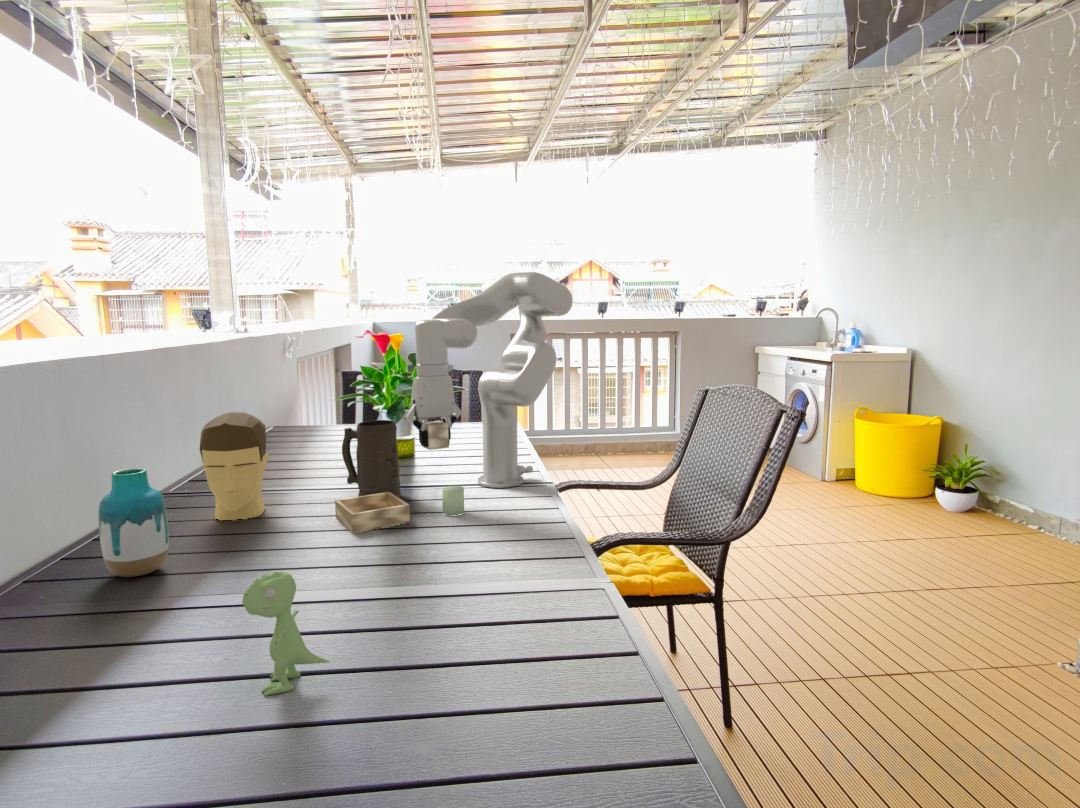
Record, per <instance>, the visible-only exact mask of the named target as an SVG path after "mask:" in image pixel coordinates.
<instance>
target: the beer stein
mask: <svg viewBox="0 0 1080 808" xmlns="http://www.w3.org/2000/svg"><path fill="white" fill-rule="evenodd" d="M396 423H397V422H396V421H394V420H390V419H381V420H380V419H377V420H367V421H362V422H359V423H357V426H356V430H354V429H352V427H347V428H344V437H343V441H342V447H341V454H342V455H341V456H342V458H343V462H344V465H345V467H346V469H347V471H348V472H347V473H348V476H347V478H346V483H347V484H348V485H351V484H357V487H358V489H359V490H358V495H357V497H359V496H366V495H372V494H378V493H385V492H390V493H392V494H394V495H395V496H397V497H398V498H401V495H402V492H401V489H400V486H401V480H400V465H399V450H398V443H397V433H398V432H397V431H398V428H397V424H396ZM354 439H355V440H357V441H356V442H357V446H356V451H355V452H356V468H355V466H354V461H353V458H352V455H351V454H352V453H351V442H352V440H354Z"/></svg>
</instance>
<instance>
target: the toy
mask: <svg viewBox="0 0 1080 808" xmlns="http://www.w3.org/2000/svg"><path fill="white" fill-rule="evenodd" d="M296 584H297V583H296V580H295V579H294V578H293V575H292V574H291V573H288V572H285V571H275V572H272V573H265V574H264V575H262V576H261V577H256V578H255V580H254V581H253V583H252V584H250V586H248V588H247V589H245V591H244V593H243V596H242V605H243V606H244V608H245V611H246V612H247V613H248V614H250V615H255V616H259V617H263V618H270V619H272V618H276V620H275V627H274V630H273V635H272V637H271V639H270V641H269V654H270V658H271V660H272V661H273V662H274V666H273V667H274V668H273V670H274V672H273V673H271V675H269V677H270V678H271V679H270V681H271V682H272V681H273V682H272V683H269V684H268V685H266V686H265V687H264V688H262V689H261V692H262V693H263V696H265V697H266V696H272V695H276V694H277V695H278V694H282V693H287V692H290V691H292V690H294V689H295V687H294V685H293V684H292V683H291V682H289V681H290V679H296V678H300V677H301V673H300V671H298V670H297V669H296V666H295V665H312V664H325V663H326V664H327V663H330V661H331V660H327V659H325V658H323V657H321V656H318V655H317V654H314V653H313V652H311V651H310V650H309V649H308V648H307V645H306V644H305V641H304V640H303V637H302V634H301V633H300V630H299V627H298V625H297V623H296V620H295V617H296V616H297V615H298V613H300V610H299V609H298V610H294V611H293V613H292V612H291V611H292V606H293V602H294V598H295V594H296V592H297V585H296ZM274 681H276V682H274Z"/></svg>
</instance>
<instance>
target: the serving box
mask: <svg viewBox="0 0 1080 808" xmlns="http://www.w3.org/2000/svg"><path fill="white" fill-rule="evenodd" d="M334 504H335V505H334V507H335V508H334V509H335V519H336V518H337V519H336V520H337V521H338V520H339V521H340V522H341V523H340V522H339V521H338V522H339V523H340V524H342V526H344V527H345V528H346V527H347V528H348V529H349V530H350V531H351V532H350V531H349V530H348V529H347V528H346V529H347V530H348V531H349V532H350V533H351V534H354V533H356V534H359V533H358V532H361V533H364V532H363V531H366V532H368V531H367V530H372V529H377V530H379V529H378V528H382V529H384V528H383V527H387V528H390V527H389V526H393V527H395V526H394V525H398V526H401V525H400V524H403V525H405V524H404V523H409V522H410V523H411V507H410V506H411V505H410V504H409V503H407V502H406V501H405V500H403V499H401V497H399V498H398V497H397V496H395V495H394V494H392V493H390V492H385V493H378V494H372V495H366V496H359V497H358V496H354V497H348V498H347V497H346V498H343V499H342V498H339V499H335V500H334ZM410 523H409V524H410ZM372 531H373V530H372ZM354 535H355V534H354Z"/></svg>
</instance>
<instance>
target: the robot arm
mask: <svg viewBox="0 0 1080 808" xmlns="http://www.w3.org/2000/svg"><path fill="white" fill-rule="evenodd" d="M516 307H517V308H518V312H519V313H518V314H519V319H520V320H519V323H520V324H519V327H518V328H517V329H518V330H517V331H516V333H515V334H514V336H513V337H512V339H511V340H510V342H509V343H508V345H507V346H506V347H505V349H504V351H503V353H502V355H501V357H500V365H501V367H502V369H501V368H492V369H489V370H487V371H485V372H484V373H482V374H481V376H480V377H479V380H478V385H477V389H478V392H477V393H478V396H479V400H480V401H479V402H480V406H481V415H482V462H483V463H482V465H483V466H482V467H483V468H482V469H483V475H481V476H479V477H478V479H477V483H478V485H480V486H483V487H485V488H493V489H494V488H495V489H497V488H498V489H505V488H513V487H517V486H519V485H520V486H521V485H522V484H523V483H524V477H523V475H524V474H529V473H533V472H534V468H533V466H532V465H526V466H524V465H520V464H518V417H517V414H516V412H515V409H514V407H530V406H531V405H533V404H534V403H535V402H536V401H537V400H538V399H539V398H540V397H539V396H540V395H541V393H542V392H543V391H544V388H545V387H546V385H547V384H548V382H549V380H550V378H551V377H552V375H553V373H554V371H555V369H556V365H557V353H556V350H555V348H554V347H553V346H552V345H551V344H549V343H548V342H546V341H547V337H548V335H547V330H546V327H545V324H544V321H543V318H542V317H560V316H565V315H567V314H568V313H569V312H570V311H571V309H572V307H573V295H572V293H571V291H570V290H569V288H568V287H567V286H565V285H564V284H562V283H561V282H558V281H556V280H555V279H553V278H551V277H549V276H547V275H545V274H543V273H541V272H536V271H531V272H530V271H529V272H527V271H526V272H513V273H508V274H506V275H503V276H502V277H501V278H500V279H498V280H497V281H495V282H494V283H493V284H491V285H490V286H488V287H487V288H485V289H484V290H483V291H482V292H480V293H478V294H476V295H474V296H471V297H467V298H466V299H464V300H462V301H459V302H457V303H454V304H452V305H449V306H448V307H446V308H444V309H442V310H440V311H439V312H438V313H436V314H435V315H433V316H432V317H431V318H430V319H420V320H419V321H417V322H416V323H415V326H414V327H415V328H414V330H415V331H414V332H415V333H414V334H415V355H416V356H415V359H416V376H414V377H413V379H412V387H411V396H410V397H411V399H410V409H409V410H408V411H407V413H406V415H405V416H404V418H405V420H407V421H408V422H409V423H411V424H412V425H413V426H415V428H416V429H417V430H418V441H419V444H420V446H421V447H422V446H424V447H428V431H427V430H426V425H427V422H429V421H428V420H429V419H435V418H440V419H441V421H442V422H445V423H448V432H449V444H450V443H451V441H450V440H451V435H452V434H451V428H452V427H453V425H454V423H455V422H456V420H457V419H458V418H459V417H460V416H461V415H462V414H463V411H462V410H461V409H460V407H459V406H458V404H456V398H455V397H456V396H455V390H454V384H453V380H452V376H451V375H449V374H450V371H453V370H454V366H453V365H452V364H449V359H448V358H449V357H448V356H449V355H448V349H461V350H464V349H467V348H469V347H471V346H473V345H474V343H475V342H476V341H477V339H478V329H477V327H481V326H485V325H486V326H487V325H490V324H494V323H496V322H498V321H500V320H501V319H502V318H503V317H505V316H506V315H507V314H508V313H510V311H512V310H513V309H515V308H516ZM415 417H418V420H417V418H415ZM424 447H423V448H424Z"/></svg>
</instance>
